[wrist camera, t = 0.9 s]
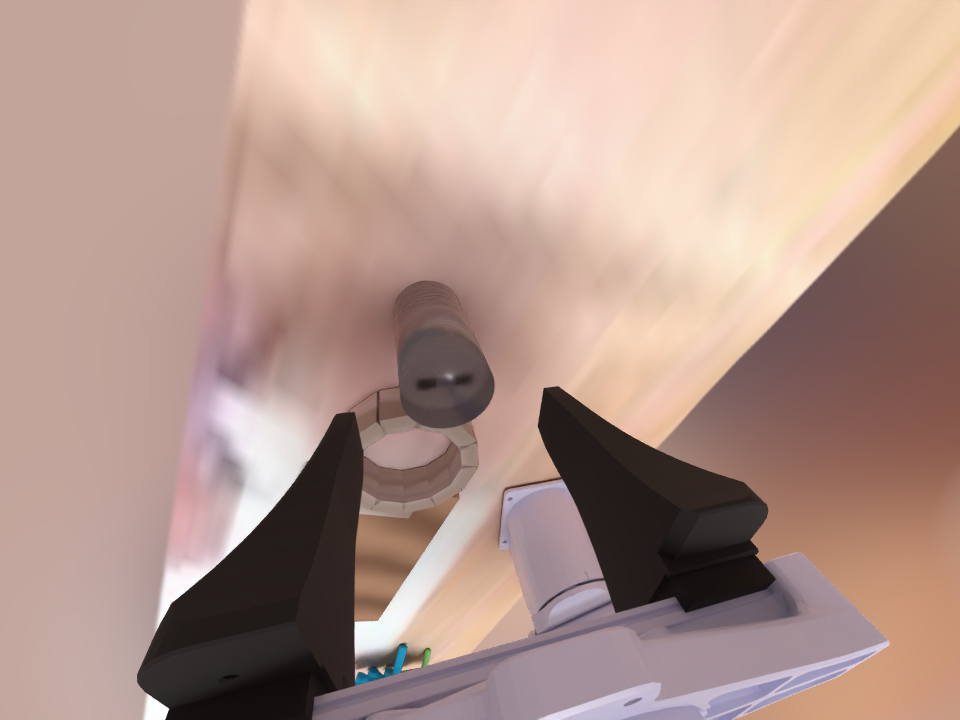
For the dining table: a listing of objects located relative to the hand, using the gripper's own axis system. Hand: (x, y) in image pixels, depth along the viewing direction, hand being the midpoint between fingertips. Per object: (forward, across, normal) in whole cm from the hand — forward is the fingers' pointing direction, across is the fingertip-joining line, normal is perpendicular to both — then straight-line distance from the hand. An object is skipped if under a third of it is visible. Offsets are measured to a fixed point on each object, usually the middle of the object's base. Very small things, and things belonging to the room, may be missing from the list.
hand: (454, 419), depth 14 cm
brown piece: (+10, +6, +19) cm, 22 cm away
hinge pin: (+10, 0, 0) cm, 10 cm away
